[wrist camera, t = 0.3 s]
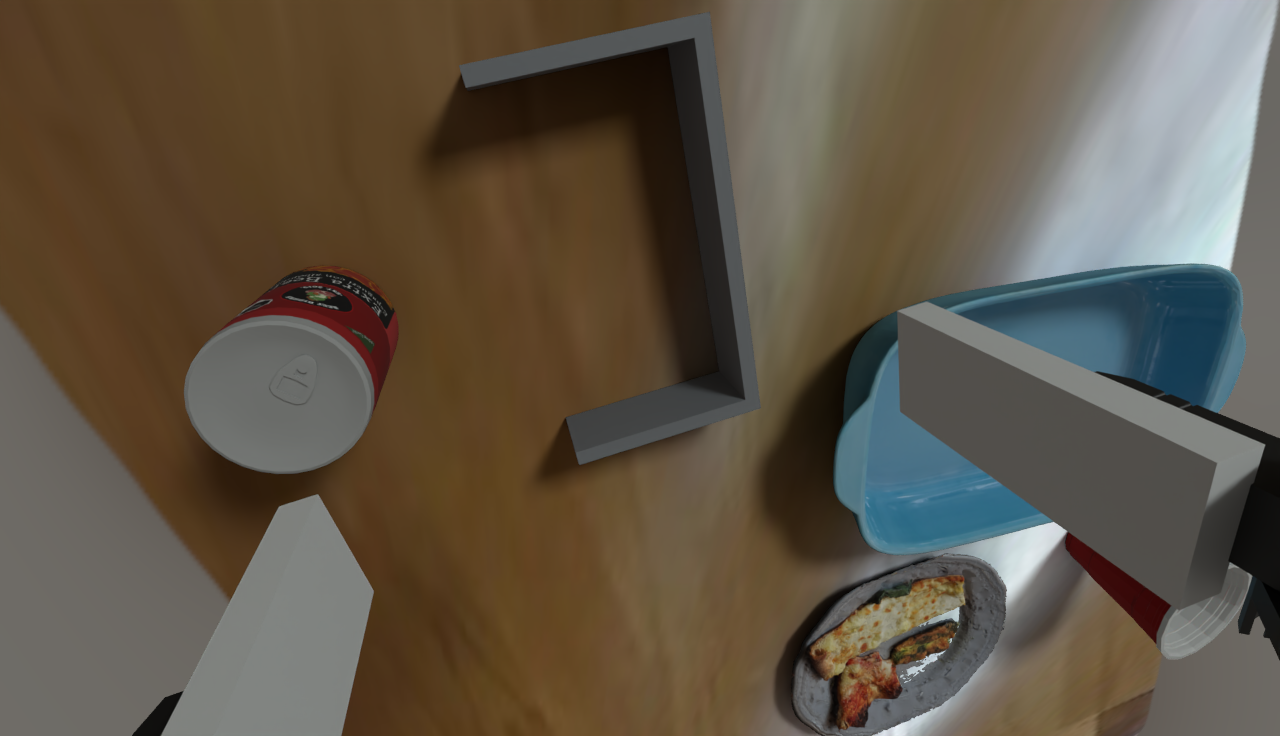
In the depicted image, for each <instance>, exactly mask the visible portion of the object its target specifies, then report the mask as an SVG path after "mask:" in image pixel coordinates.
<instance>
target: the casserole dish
mask: <svg viewBox="0 0 1280 736" xmlns="http://www.w3.org/2000/svg"><path fill="white" fill-rule="evenodd" d="M924 302H929V303H931V304H934V305H936V306H938V307H941V308H943V309H946V310H948V311H950V312H953V313H955V314H957V315H960V316H962V317H964V318H967V319H969V320H972V321H974V322H976V323H979V324H981V325H983V326H986V327H988V328H990V329H993V330H995V331H998V332H1000V333H1002V334H1005V335H1007V336H1009V337H1012V338H1014V339H1017V340H1019V341H1021V342H1024V343H1026V344H1028V345H1031V346H1033V347H1035V348H1038V349H1040V350H1043V351H1045V352H1047V353H1050V354H1052V355H1054V356H1057V357H1059V358H1061V359H1064V360H1066V361H1069V362H1071V363H1073V364H1076V365H1078V366H1080V367H1083V368H1085V369H1087V370H1090V371H1092V372H1096V371H1099V372H1104V373H1108V374H1113V375H1118V376H1122V377H1127V378H1132V379H1135V380H1137V381H1140V382H1142V383H1145V384H1147V385H1150V386H1152V387H1155V388H1157V389H1159V390H1162V391H1164V393H1165V394H1166V395H1169V394H1172V395H1174V396H1177V397H1179V398H1182V399H1184V400H1186V401H1189V402H1190V404H1191V405H1192V406H1195V405H1199V406H1201V407H1204V408H1206V409H1209V410H1211V411H1213V412H1216V413H1218V412H1219V411H1220V409H1221V408H1222V406H1223V405H1224V403H1225V402H1226V401H1227V399H1228V397H1229V395H1230V394H1231V392H1232V390H1233V388H1234V385H1235V383H1236V381H1237V379H1238V376H1239V372H1240V369H1241V367H1242V364H1243V360H1244V355H1245V350H1246V339H1245V334H1244V332H1243V330H1242V328H1241V317H1242V310H1243V293H1242V288H1241V284H1240V282H1239V280H1238V279H1237V277H1236V276H1235V275H1234V274H1233V273H1232V272H1230V271H1229V270H1227V269H1224V268H1222V267H1219V266H1214V265H1208V264H1175V265H1145V266H1130V267H1118V268H1110V269H1102V270H1094V271H1087V272H1080V273H1074V274H1068V275H1062V276H1056V277H1050V278H1044V279H1038V280H1032V281H1026V282H1020V283H1013V284H1007V285H1001V286H995V287H989V288H982V289H976V290H971V291H965V292H960V293H955V294H950V295H945V296H941V297H937V298H933V299H929V300H926V301H923V302H920V303H924ZM920 303H917V304H920ZM917 304H914V305H917ZM914 305H911V306H914ZM911 306H909V307H911ZM906 308H908V307H906ZM903 309H905V308H903ZM900 310H902V309H900ZM833 485H834V491H835V494H836V496H837V498H838V500H839V501H840V502H841V503H842V504H843V505H844V506H845V507H846V508H848V509H849V510H851V511H852V513H853V515H854V517H855V520H856V522H857V525H858V528H859V531H860V533H861V536H862V537H863V539H864V541H865V542H866V543H867V544H868V545H869V546H870V547H871V548H873V549H874V550H877V551H879V552H882V553H885V554H892V555H912V554H920V553H927V552H932V551H937V550H942V549H947V548H951V547H956V546H960V545H964V544H969V543H973V542H977V541H981V540H985V539H989V538H993V537H996V536H1000V535H1004V534H1008V533H1012V532H1016V531H1020V530H1023V529H1027V528H1031V527H1035V526H1038V525H1043V524H1047V523H1051V522H1054V521H1052V520H1051V519H1050V518H1048V517H1047V516H1045V515H1044V514H1043V513H1041V512H1040V511H1038V510H1037V509H1036V508H1034V507H1033V506H1031V505H1030V504H1029V503H1027V502H1026V501H1024V500H1023V499H1022V498H1020V497H1019V496H1017V495H1016V494H1015V493H1013V492H1012V491H1010V490H1009V489H1008V488H1006V487H1005V486H1003V485H1002V484H1001V483H999V482H998V481H996V480H995V479H994V478H992V477H991V476H989V475H988V474H987V473H985V472H984V471H982V470H981V469H980V468H978V467H977V466H975V465H974V464H973V463H971V462H970V461H968V460H967V459H965V458H964V457H963V456H961V455H960V454H958V453H957V452H956V451H954V450H953V449H951V448H950V447H949V446H947V445H946V444H944V443H943V442H942V441H940V440H939V439H937V438H936V437H935V436H933V435H932V434H930V433H929V432H928V431H926V430H925V429H923V428H922V427H921V426H919V425H918V424H916V423H915V422H914V421H912V420H911V419H909V418H908V417H907V416H905V415H904V414H902V413H901V412H900V395H899V358H898V320H897V311H896V312H894V313H892V314H890V315H888V316H886V317H885V318H883V319H881V320H880V321H879V322H877V323H876V324H875V325H874V326H873V327H872V328H870V329H869V330H868V331H867V332H866V334H865V335H864V336H863V337H862V339H861V340H860V342H859V343H858V345H857V346H856V348H855V350H854V353H853V355H852V357H851V360H850V364H849V367H848V372H847V376H846V386H845V396H844V413H843V425H842V427H841V429H840V431H839V433H838V436H837V440H836V445H835V454H834V465H833Z"/></svg>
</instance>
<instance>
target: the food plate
mask: <svg viewBox="0 0 1280 736" xmlns="http://www.w3.org/2000/svg"><path fill="white" fill-rule="evenodd" d="M863 585H864V586H862V585H861V586H859V587H857V588H856V589H853V590H854V591H853V590H852V591H851V592H849V593H846V594H845V595H844V596H842V598H840V599H839V600H837V601H835V603H834V604H833V605H832V606H831V607H830V608H829V610H827V612H826V613H825V615H824V616H822V618H821V620H820V621H819V622H818V623H817V625H816V626H815V628H813V630H811V633H809V635H807V638H805V639H804V642H803V643H802V647H801V649H800V650H801V651H800V653H799V654H798V656H797V657H796V659H795V661H794V664H793V666H794V667H793V672H792V674H793V675H792V676H793V677H792V684H791V686H792V687H791V689H792V691H791V697H792V707H793V710H794V712H795V715H796V717H798V719H799V720H800V721H801V722H802V723H804V724H806V725H807V726H809V727H810V728H811V729H812V730H814V731H815V732H816V733H818V734H820V735H821V736H872V735H873V734H878V732H879V733H880V732H882V731H883V730H888V729H889V728H891V727H895V726H896V725H898V724H901V723H903V722H906V721H909V720H910V719H911V718H915V717H916V716H919V715H922V714H923V713H926V712H927V711H928V712H929V711H930V709H932V708H933V709H935V707H939V706H941V705H942V704H943V703H944V702H945V701H947V700H948V699H950V698H951V697H952V696H955V694H956V693H957V692H958V691H959V690H960V689H961V688H962V687H963V686H964V685H965V684H966V683H967V682H968V681H969V679H970V677H971V676H972V675H973V674H974V673H975V672H976V670H977V669H978V668H979V667H980V666H981V665H982V664H983V663H984V662H985V660H986V659H987V658H988V657H989V654H990V653H991V652H992V651H993V649H994V647H995V644H996V643H997V641H998V638H999V635H1000V634H1001V631H1002V629H1003V630H1004V628H1002V627H1003V623H1004V622H1003V621H1004V620H1005V614H1006V613H1005V611H1006V606H1005V602H1006V598H1005V597H1006V591H1007V590H1006V586H1005V584H1004V582H1003V581H1002V579H1001V577H999V575H998V573H997V572H996V570H995V569H994V568H993V567H991V565H990V564H988V563H986V562H985V561H984V560H983V561H982V559H979V558H976V557H973V556H967V555H959V554H956V555H955V554H949V553H946V554H943V555H941V556H939V557H936V558H935V557H934V558H932V559H929V560H928V561H925V562H921V563H918V564H917V565H910V566H909V567H905V568H904V569H901V570H898V571H895V572H894V573H892V574H890V575H889V574H888V575H886V576H883V577H881V578H879V579H878V580H874V581H871V582H870V583H866V584H863ZM957 607H960V609H959V613H960V614H959V622H955V621H954V620H953V619H952V618H950V619H948V620H947V619H946V620H943V621H939V622H937V623H934V624H929V625H928V623H929V622H927V623H926V625H925V626H924V625H922V627H920V626H919V625H920V624H921V623H923V622H926V621H928V620H930V619H931V618H933V617H936V616H938V615H942V614H944V613H946V612H948V611H951V610H954V609H955V608H957ZM917 626H918V627H917ZM958 626H959V627H958ZM957 627H958V628H957ZM955 633H956V634H955ZM950 638H952V643H950V644H949V642H950ZM946 649H947V650H946ZM945 650H946V651H945ZM943 651H945V652H944V653H943V654H941V655H940V656H939V655H938V656H937V657H938V660H936V661H935V662H931V663H929V665H928V664H927V665H926V666H925V667H924V668H923V669H922V670H925V671H924V672H921V671H920V670H918V672H920V673H919V674H917V675H916V676H914V675H915V674H916V673H915V674H914V675H913V674H911V675H909V676H906V674H907V675H908V673H907V670H906V669H909V668H911V667H913V666H916V667H918V666H920V665H923V664H924V663H921V662H922V661H923V660H924V658H926V657H925V656H927V657H929V655H930V654H933V653H940V652H943ZM863 652H865V653H863ZM860 653H863V654H860ZM935 655H936V654H935ZM917 660H922V661H921V662H920V661H919V662H916V661H917ZM925 660H926V659H925ZM902 671H903V672H902ZM902 674H905V675H904V676H903V677H902V678H900V675H902ZM913 676H914V677H913ZM907 677H908V678H909V677H911V678H910V679H911V681H909V680H910V679H907ZM903 678H906V679H903ZM905 681H909V682H906V683H904V682H905ZM900 683H901V684H900ZM901 685H902V686H901Z"/></svg>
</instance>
